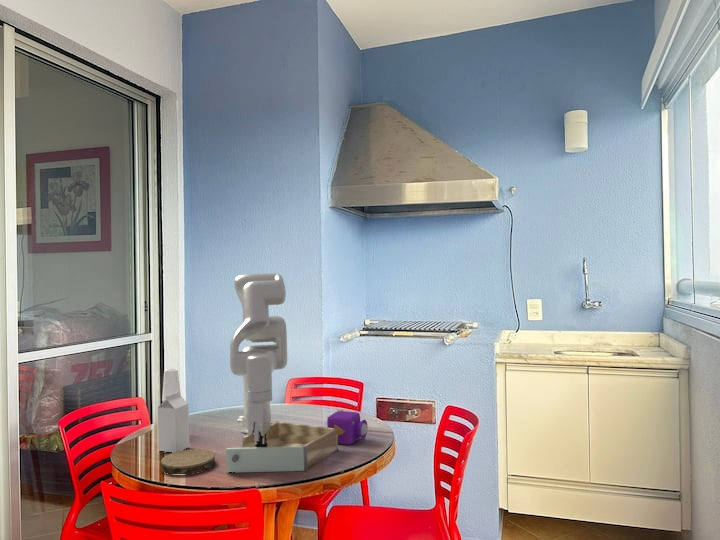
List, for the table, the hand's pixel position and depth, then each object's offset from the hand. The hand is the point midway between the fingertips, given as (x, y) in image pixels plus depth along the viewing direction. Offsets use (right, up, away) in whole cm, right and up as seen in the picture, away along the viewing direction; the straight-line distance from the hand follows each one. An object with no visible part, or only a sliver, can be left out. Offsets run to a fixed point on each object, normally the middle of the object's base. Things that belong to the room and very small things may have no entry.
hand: (261, 456), depth 167 cm
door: (+2, -4, -4) cm, 5 cm away
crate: (+8, -3, +12) cm, 14 cm away
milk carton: (-33, -5, +20) cm, 39 cm away
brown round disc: (-23, -5, +4) cm, 24 cm away
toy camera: (+26, -3, +24) cm, 35 cm away
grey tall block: (-40, -5, +38) cm, 55 cm away
